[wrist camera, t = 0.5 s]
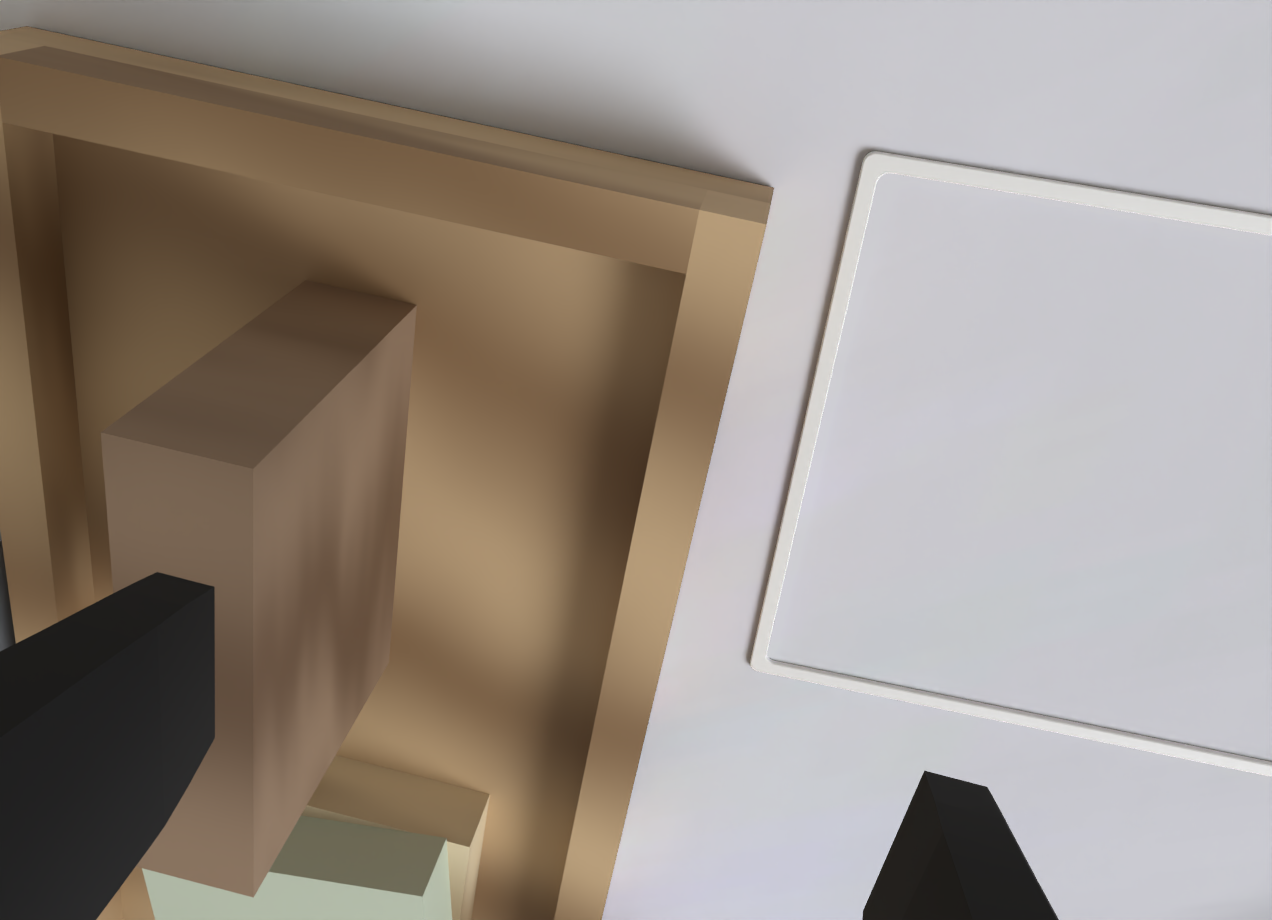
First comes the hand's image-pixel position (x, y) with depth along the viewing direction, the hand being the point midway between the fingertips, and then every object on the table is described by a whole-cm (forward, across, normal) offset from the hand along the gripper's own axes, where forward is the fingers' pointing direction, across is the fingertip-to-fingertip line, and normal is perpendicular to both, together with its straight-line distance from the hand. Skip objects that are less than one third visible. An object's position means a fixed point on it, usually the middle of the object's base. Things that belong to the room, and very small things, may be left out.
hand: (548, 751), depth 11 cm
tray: (+10, +5, +8) cm, 14 cm away
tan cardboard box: (+9, +6, +4) cm, 11 cm away
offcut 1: (+7, +5, +13) cm, 16 cm away
